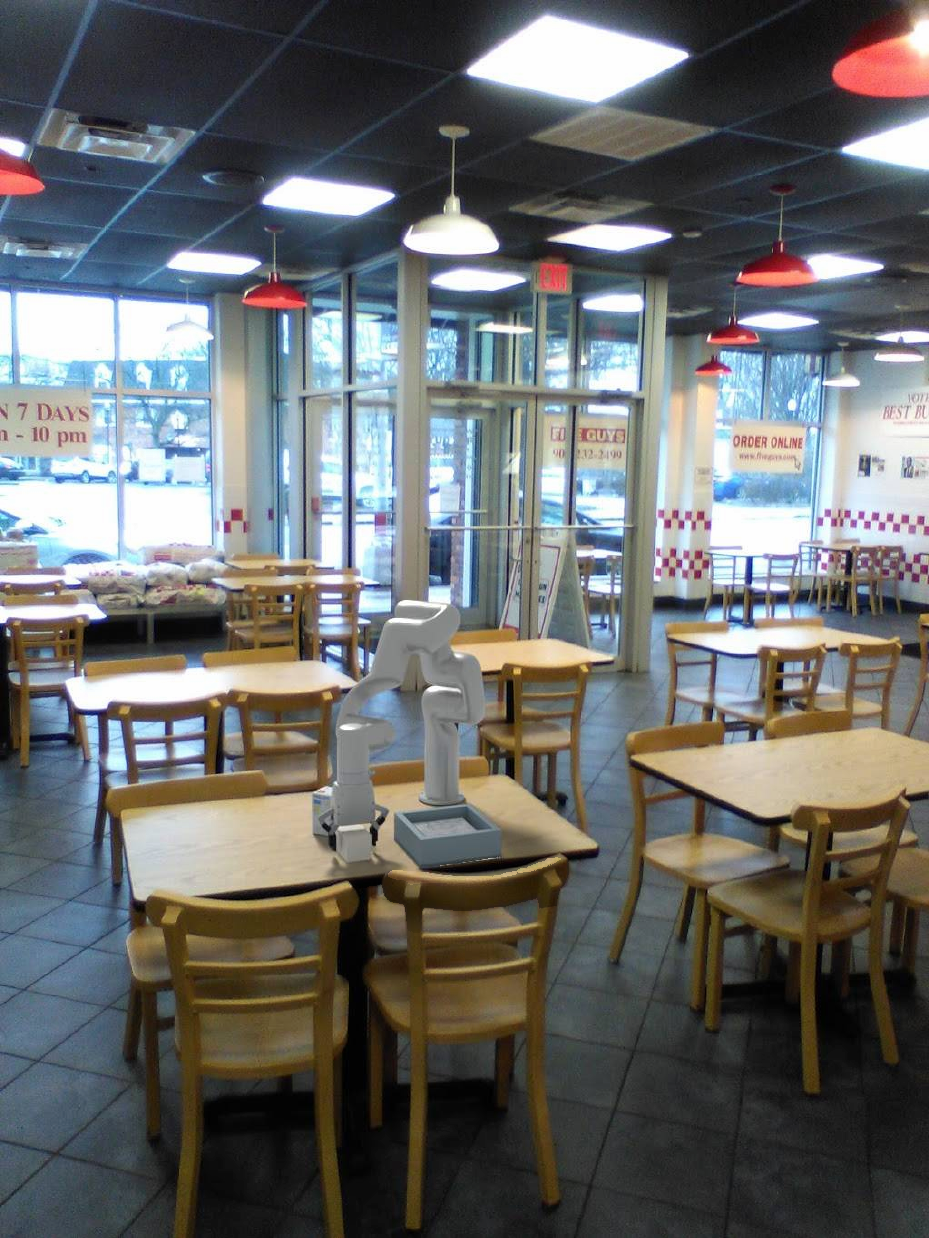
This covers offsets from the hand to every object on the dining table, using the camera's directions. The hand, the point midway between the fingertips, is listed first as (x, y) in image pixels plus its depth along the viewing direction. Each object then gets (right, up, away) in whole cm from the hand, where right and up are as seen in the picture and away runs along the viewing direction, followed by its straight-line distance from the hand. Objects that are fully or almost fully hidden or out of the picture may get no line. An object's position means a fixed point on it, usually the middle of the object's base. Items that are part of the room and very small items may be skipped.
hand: (353, 846), depth 253 cm
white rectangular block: (0, -2, 0) cm, 2 cm away
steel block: (+22, -1, +4) cm, 22 cm away
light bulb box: (-5, 0, +14) cm, 15 cm away
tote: (+22, -2, +5) cm, 22 cm away
